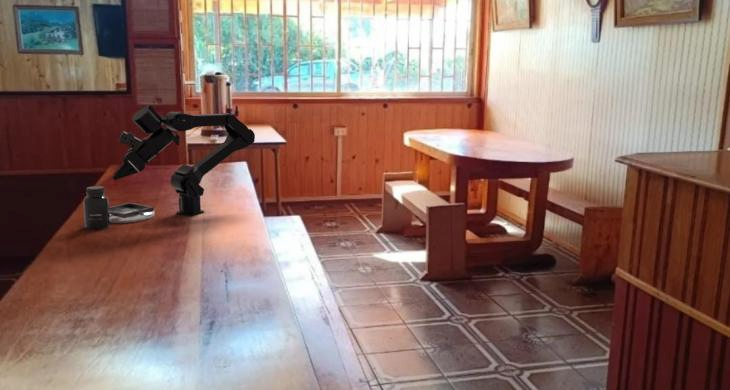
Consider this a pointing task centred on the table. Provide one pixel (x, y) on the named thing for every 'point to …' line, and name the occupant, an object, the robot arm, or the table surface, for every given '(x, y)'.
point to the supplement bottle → (96, 208)
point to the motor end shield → (130, 213)
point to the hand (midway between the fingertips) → (114, 177)
